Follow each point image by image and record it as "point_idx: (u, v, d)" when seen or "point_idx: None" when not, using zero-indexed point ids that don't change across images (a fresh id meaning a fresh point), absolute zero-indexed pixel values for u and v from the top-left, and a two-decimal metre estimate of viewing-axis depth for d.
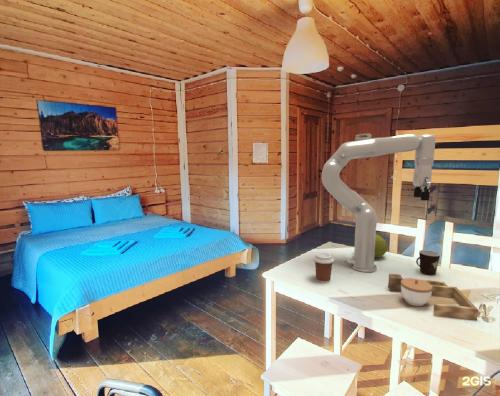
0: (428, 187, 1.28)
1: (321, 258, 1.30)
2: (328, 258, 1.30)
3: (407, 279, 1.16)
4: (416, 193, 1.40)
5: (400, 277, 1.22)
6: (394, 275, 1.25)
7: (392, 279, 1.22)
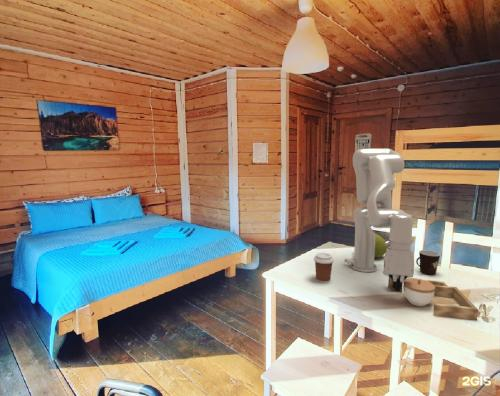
0: None
1: (321, 258, 1.30)
2: (328, 258, 1.30)
3: (409, 279, 1.16)
4: None
5: None
6: None
7: None
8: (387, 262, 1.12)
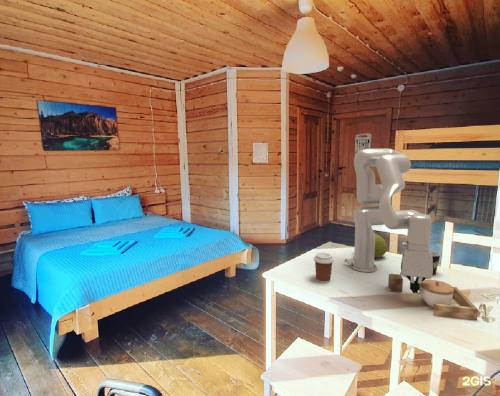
0: None
1: (321, 258, 1.30)
2: (328, 258, 1.30)
3: (427, 281, 1.14)
4: None
5: (400, 277, 1.22)
6: (394, 275, 1.25)
7: (392, 279, 1.22)
8: (405, 263, 1.10)
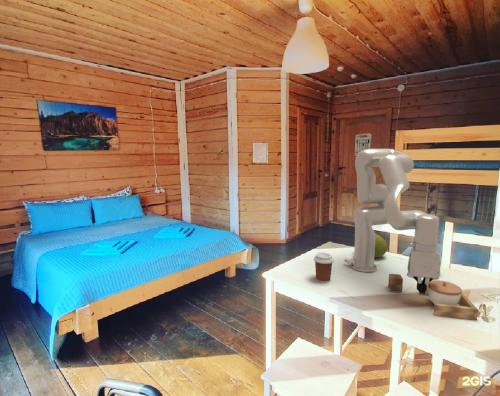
0: None
1: (321, 258, 1.30)
2: (328, 258, 1.30)
3: (434, 281, 1.14)
4: None
5: (400, 277, 1.22)
6: (394, 275, 1.25)
7: (392, 279, 1.22)
8: (412, 264, 1.09)
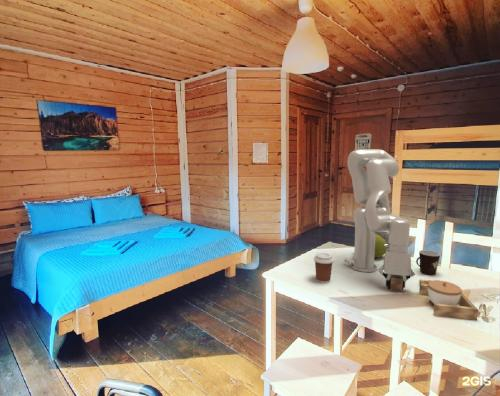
0: None
1: (321, 258, 1.30)
2: (328, 258, 1.30)
3: (434, 281, 1.14)
4: None
5: (400, 277, 1.22)
6: (394, 275, 1.25)
7: (392, 279, 1.22)
8: (386, 263, 1.21)
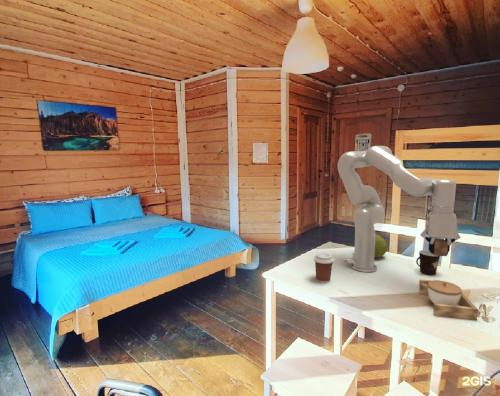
0: None
1: (321, 258, 1.30)
2: (328, 258, 1.30)
3: (434, 281, 1.14)
4: None
5: (445, 241, 1.18)
6: (437, 239, 1.20)
7: (436, 242, 1.18)
8: (430, 226, 1.17)
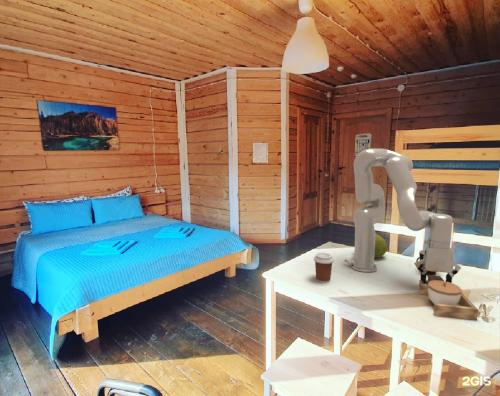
0: None
1: (321, 258, 1.30)
2: (328, 258, 1.30)
3: (434, 281, 1.14)
4: None
5: (441, 278, 1.21)
6: (433, 276, 1.23)
7: None
8: (427, 260, 1.19)
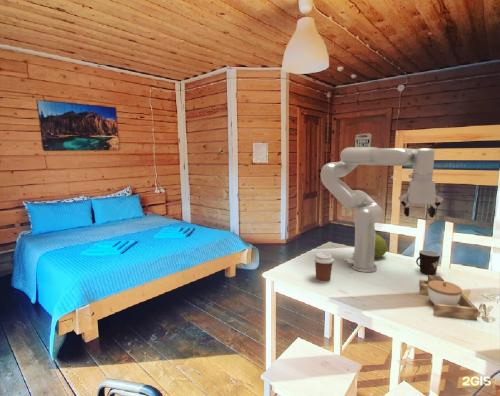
0: None
1: (321, 258, 1.30)
2: (328, 258, 1.30)
3: (434, 281, 1.14)
4: None
5: (441, 278, 1.21)
6: (434, 276, 1.23)
7: None
8: (411, 192, 1.24)
